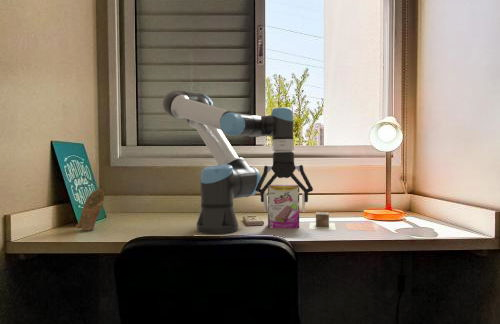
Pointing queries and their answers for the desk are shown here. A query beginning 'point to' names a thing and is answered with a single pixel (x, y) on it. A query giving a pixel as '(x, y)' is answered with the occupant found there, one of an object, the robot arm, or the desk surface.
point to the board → (350, 227)
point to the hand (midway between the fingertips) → (284, 211)
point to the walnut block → (322, 219)
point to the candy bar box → (283, 206)
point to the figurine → (91, 210)
